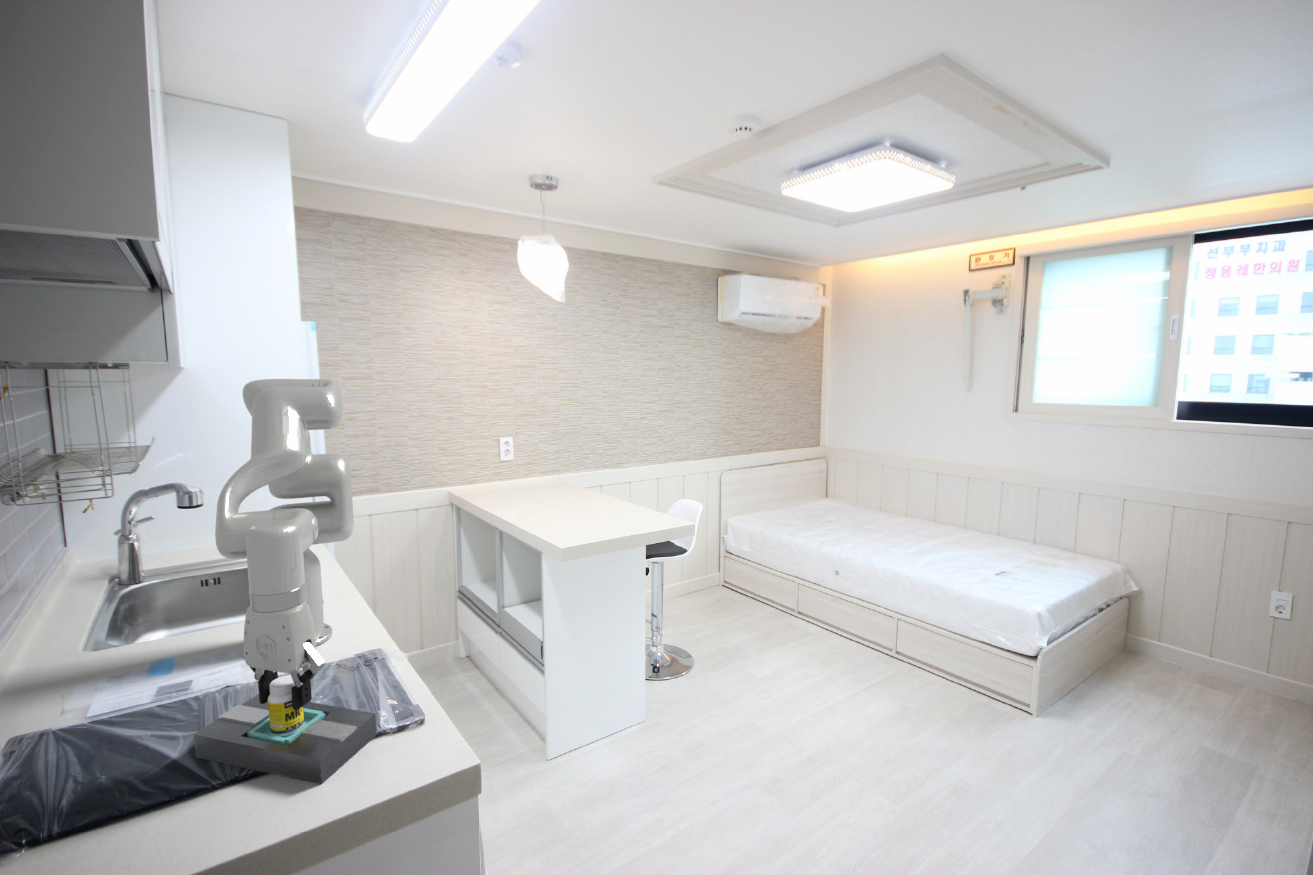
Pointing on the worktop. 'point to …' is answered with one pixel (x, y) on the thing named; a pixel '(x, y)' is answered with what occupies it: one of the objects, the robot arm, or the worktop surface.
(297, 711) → the supplement bottle
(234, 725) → the block
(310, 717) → the tray
